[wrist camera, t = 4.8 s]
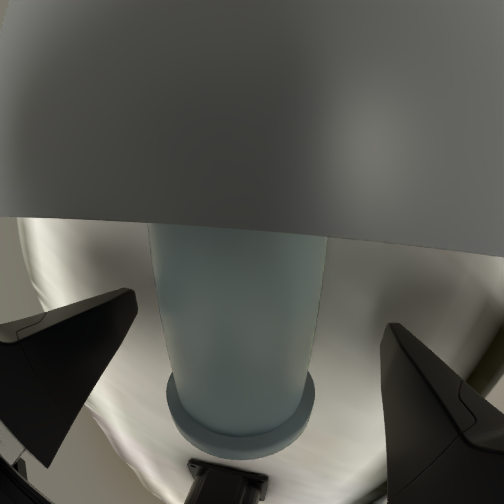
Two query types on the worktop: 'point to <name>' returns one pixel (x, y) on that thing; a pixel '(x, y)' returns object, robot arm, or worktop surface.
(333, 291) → the worktop surface
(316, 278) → the cylinder
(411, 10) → the box
